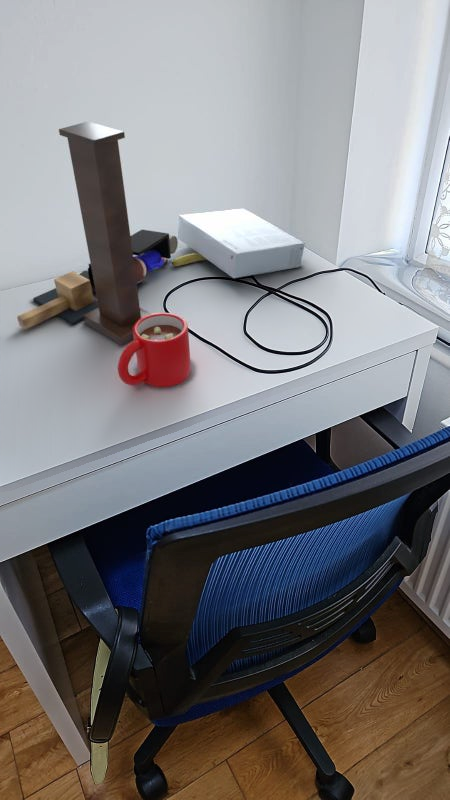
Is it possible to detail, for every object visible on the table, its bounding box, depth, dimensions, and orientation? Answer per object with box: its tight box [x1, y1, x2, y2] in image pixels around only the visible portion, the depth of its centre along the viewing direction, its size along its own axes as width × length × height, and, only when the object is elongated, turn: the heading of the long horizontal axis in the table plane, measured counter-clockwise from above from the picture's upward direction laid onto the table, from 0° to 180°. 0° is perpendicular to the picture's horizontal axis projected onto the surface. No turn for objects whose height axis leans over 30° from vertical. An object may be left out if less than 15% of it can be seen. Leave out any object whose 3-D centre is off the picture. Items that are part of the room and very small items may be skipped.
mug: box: [117, 312, 192, 388], centre depth 84 cm, size 8×12×8 cm, turn 138°
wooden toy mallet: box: [16, 271, 95, 330], centre depth 99 cm, size 13×5×4 cm, turn 137°
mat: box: [32, 287, 99, 326], centre depth 103 cm, size 12×7×1 cm, turn 47°
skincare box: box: [177, 208, 306, 279], centre depth 114 cm, size 21×6×16 cm
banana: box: [171, 252, 208, 267], centre depth 113 cm, size 8×2×4 cm
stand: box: [58, 121, 152, 346], centre depth 88 cm, size 8×10×31 cm
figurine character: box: [130, 229, 179, 283], centre depth 110 cm, size 7×8×15 cm
